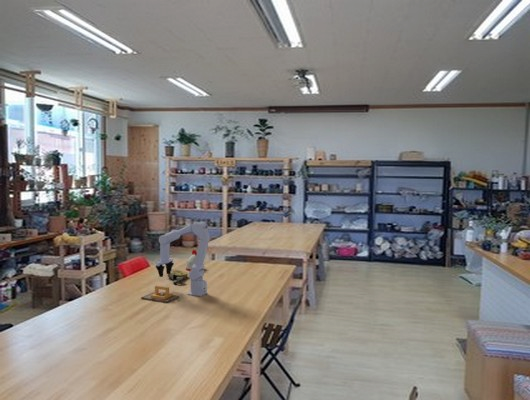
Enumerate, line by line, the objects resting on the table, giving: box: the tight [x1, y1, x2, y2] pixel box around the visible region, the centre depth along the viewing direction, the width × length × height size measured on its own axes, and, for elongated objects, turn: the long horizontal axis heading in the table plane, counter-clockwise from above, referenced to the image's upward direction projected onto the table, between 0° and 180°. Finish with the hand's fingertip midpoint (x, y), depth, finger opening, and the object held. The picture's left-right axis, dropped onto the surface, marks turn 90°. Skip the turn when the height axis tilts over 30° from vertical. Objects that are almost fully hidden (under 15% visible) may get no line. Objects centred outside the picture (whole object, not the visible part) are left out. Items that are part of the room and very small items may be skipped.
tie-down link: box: [151, 285, 174, 300], centre depth 235 cm, size 9×9×6 cm
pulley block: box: [167, 269, 189, 285], centre depth 280 cm, size 14×6×30 cm
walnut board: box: [140, 291, 180, 304], centre depth 236 cm, size 18×12×1 cm, turn 68°
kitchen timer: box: [185, 249, 205, 272], centre depth 313 cm, size 14×14×15 cm
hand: (164, 275), depth 252 cm, fingers open, 7 cm apart
